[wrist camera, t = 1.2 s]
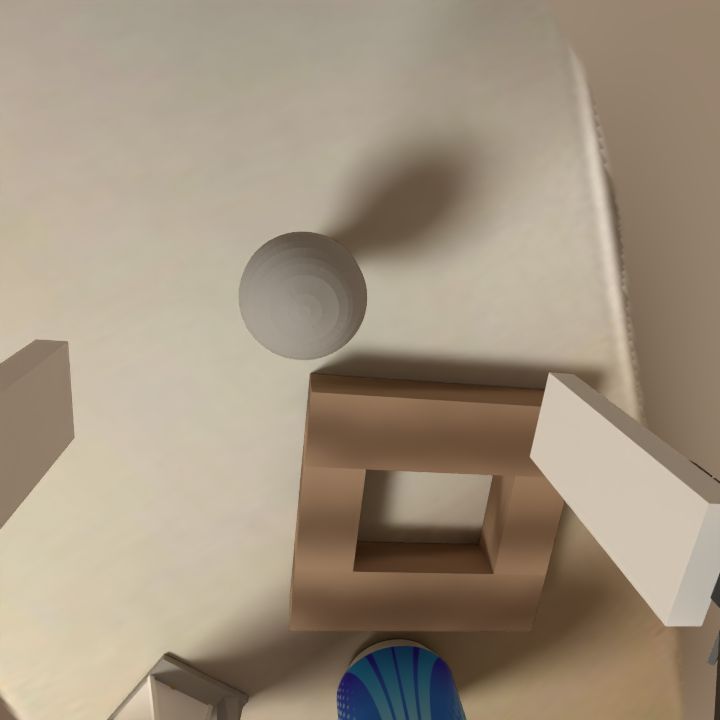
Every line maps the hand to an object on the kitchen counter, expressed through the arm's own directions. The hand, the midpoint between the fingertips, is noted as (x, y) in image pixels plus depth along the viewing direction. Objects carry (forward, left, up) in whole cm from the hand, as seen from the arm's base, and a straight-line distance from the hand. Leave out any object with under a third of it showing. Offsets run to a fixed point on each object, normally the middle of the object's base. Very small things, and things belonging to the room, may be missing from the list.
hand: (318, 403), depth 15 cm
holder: (+13, +9, -17) cm, 23 cm away
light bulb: (-1, 0, -17) cm, 17 cm away
